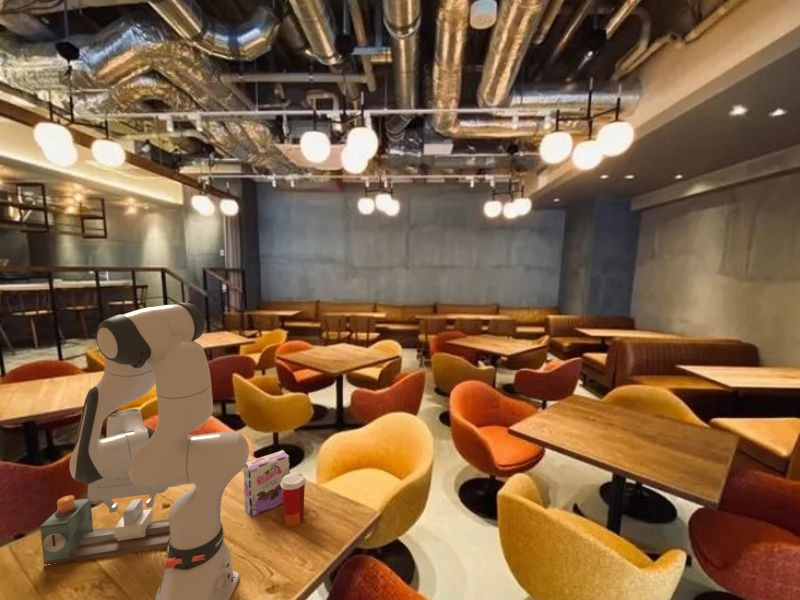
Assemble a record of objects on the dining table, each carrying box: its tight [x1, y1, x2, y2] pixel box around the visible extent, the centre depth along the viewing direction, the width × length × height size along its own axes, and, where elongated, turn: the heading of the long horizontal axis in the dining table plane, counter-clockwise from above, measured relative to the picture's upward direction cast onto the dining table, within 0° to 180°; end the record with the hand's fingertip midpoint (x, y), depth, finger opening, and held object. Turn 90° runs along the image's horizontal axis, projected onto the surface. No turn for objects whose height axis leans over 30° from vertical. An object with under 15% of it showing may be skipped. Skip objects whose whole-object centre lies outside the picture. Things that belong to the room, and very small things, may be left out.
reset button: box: [56, 494, 76, 513], centre depth 105 cm, size 4×4×3 cm
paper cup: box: [280, 472, 307, 527], centre depth 117 cm, size 8×8×14 cm
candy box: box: [243, 449, 291, 518], centre depth 125 cm, size 14×6×16 cm, turn 129°
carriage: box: [113, 498, 154, 541], centre depth 109 cm, size 7×7×9 cm
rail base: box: [39, 498, 170, 566], centre depth 108 cm, size 12×30×12 cm, turn 103°
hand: (132, 508), depth 109 cm, fingers open, 8 cm apart
